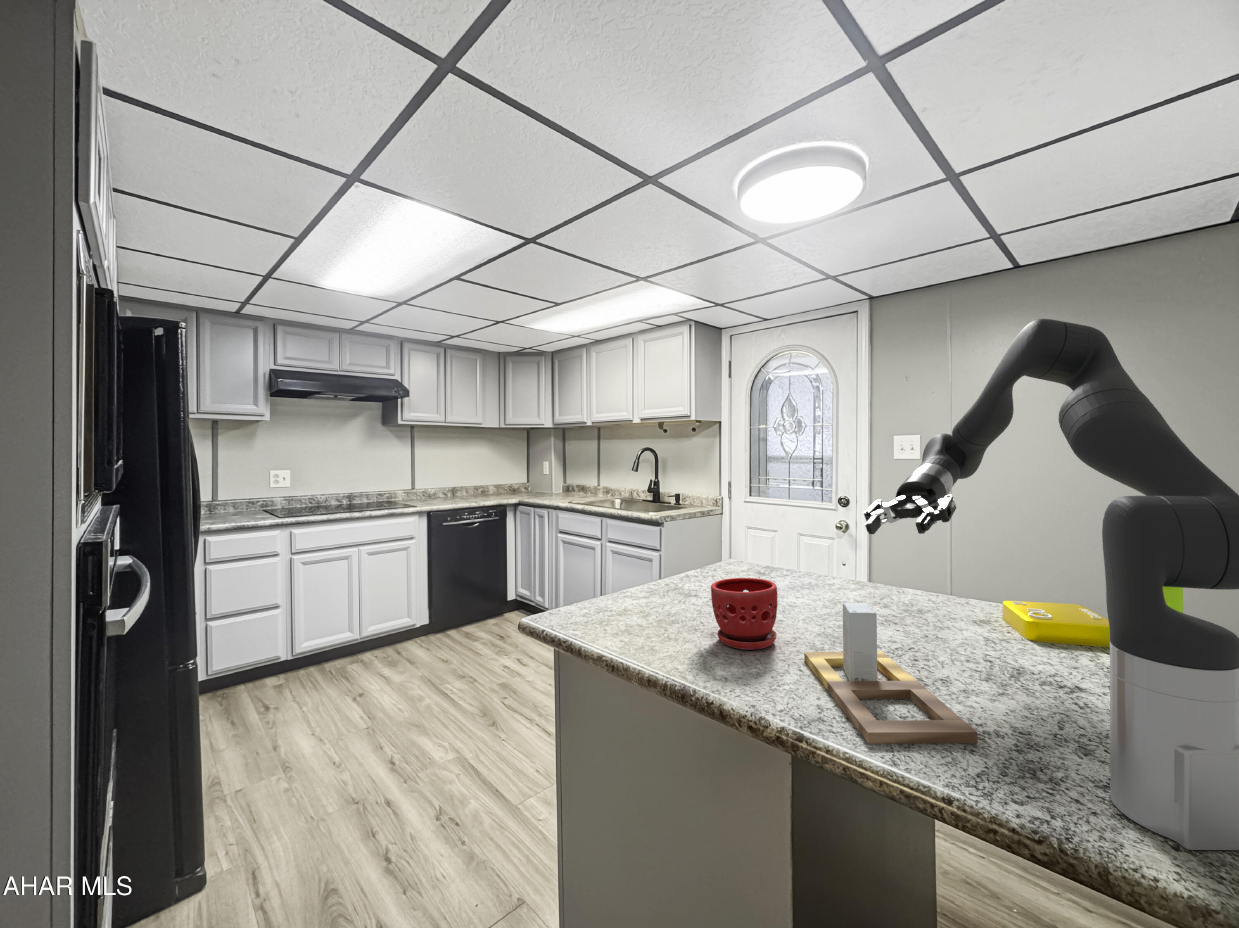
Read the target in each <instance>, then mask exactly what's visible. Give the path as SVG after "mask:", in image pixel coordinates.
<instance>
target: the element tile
mask: <svg viewBox="0 0 1239 928" xmlns="http://www.w3.org/2000/svg"><path fill="white" fill-rule="evenodd" d="M1002 620H1003V621H1004V623H1006V624H1007V625H1008V626H1010V628H1012V629H1013V630H1015V631H1016V632H1017V633H1018V634H1019V635H1020V636H1021V637H1022V638H1024V639H1026V640H1029V641H1033V642H1039V643H1049V644H1052V643H1053V644H1063V645H1075V646H1076V645H1077V646H1089V647H1090V646H1091V647H1101V648H1102V647H1103V648H1110V628H1109V620H1108V618H1106V617H1104V616H1102V615H1101V614H1099V613H1097V612H1095V611H1094V610H1092V609H1091V608H1088V607H1087V606H1084V605H1081V604H1078V603H1077V604H1076V603H1063V602H1061V603H1060V602H1059V603H1058V602H1040V601H1026V600H1004V601H1002Z"/></svg>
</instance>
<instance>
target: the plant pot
mask: <svg viewBox="0 0 1239 928" xmlns="http://www.w3.org/2000/svg"><path fill="white" fill-rule="evenodd" d="M710 596H711V597H710V598H711V605H712V611H713V614H714V618H715V621H716V623H717V625H718V627H719V629H718V631H717V638H718V639H719V641H721V642H722V643H723V644H724V645H726V646H728V647H729V648H733V649H734V648H735V649H739V650H749V651H751V650H752V651H753V650H761V649H765V648H767V647H770V646H771V645H772V644H774V643H775V641H776V640H777V635H778V634H777V632H776V631H775V630H774V629H773V628H774V626H775V623H776V621H777V620H776V619H777V614H778V613H777V612H778V586H777V584H776V583H775V582H774V581H772V580H768V579H762V578H755V577H754V578H753V577H733V578H732V577H731V578H724V579H721V580H717V581H715V582H713V583H711V586H710Z"/></svg>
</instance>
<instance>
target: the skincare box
mask: <svg viewBox="0 0 1239 928" xmlns="http://www.w3.org/2000/svg"><path fill="white" fill-rule="evenodd" d="M877 616H878V615H877V613H876V612H875V610H874V609H873V608H872V607H871V606H870V605H869V604H868V603H867V602H847V601H846V602H842V644H843V645H842V646H843V648H842V650H843V651H842V652H843V671H844V673H845V675H846V677H847V678H848V681H879V680H878V668H877V651H878V635H877V634H878V632H877V631H878V629H877V628H878V624H877V623H878V621H877Z"/></svg>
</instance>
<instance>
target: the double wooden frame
mask: <svg viewBox="0 0 1239 928" xmlns="http://www.w3.org/2000/svg"><path fill="white" fill-rule="evenodd" d="M803 653H804V654H803V656H804V657H803V659H804V660H803V661H804V662H805V663H806V664H807V666H808V667H809V668H810V669H811V671H812V673H814V675H815V676H816V678H817V679H818V680H819V681H820V683H821V684H822V685H823V686H824V688H825V689H826V690H827V692H828V693H829V694H830V696H831V697H832V698H833V700H834V701H835V703H837V705H838V706H839V708H840V709H841V710H842V711H843V713H844V714H845V716H846V717H847V719H848V720H849V721H851V723H852V725H853V726H854V727H855V728H856V730H857V731H858V732H859V734H860V735H861V736H862V737H863V739H864V740H865V742H866V743H867V744H868V745H870V744H871V745H872V744H874V745H876V744H878V745H879V744H880V745H881V744H882V745H886V744H888V745H889V744H892V745H893V744H894V745H895V744H903V745H904V744H911V745H912V744H913V745H914V744H921V745H923V744H926V745H927V744H929V745H930V744H979V742H978V741H979V740H978V736H979V734H978V731H977V729H975V728H973V727H972V726H971V725H970V724H969V723H967V722H966V721H965V720H964V719H962V717H960V716H959V715H958V714H957V713H956V712H955V711H953V710H952V709H951V708H950V707H949V706H947V705H946V704H945V703H944V702H943V701H942V700H940V699H939V698H938V697H937V696H936V695H935V694H933V693H932V692H931V691H930V690H929V689H928V688H926V687H925V686H923V685H922V684H921V682H920V681H918V680H917V679H916V678H914V677H913V676H912V675H911V674H909V672H908V671H907V670H905V669H904V668H903V667H901V666H900V665H899V664H898V663H897V662H896V661H894V660H893V659H892V658H890V656H888V655H887V654H886V653H885V652H883V651H881V650H877V670H879V672H881V673H882V674H883V675H884V676H885V677H886V678H888V679H889V680H878V681H849V680H847V681H846V680H843V679H842V678H841V677H840V675H839V674H838V673H837V672H836V671H835V670H834V669H833V668H838V667H839V668H840V667H841V668H842V667H843V651H804V652H803ZM861 700H911V701H912V702H913V703H914V704H915V705H916V706H917V707H919V708H920V709H921V710H922V711H923V712H924V713H925V714H926V715H927V716H928V717H929V718H930V719H923V720H922V719H916V720H915V719H914V720H913V719H912V720H909V719H908V720H905V719H904V720H903V719H900V720H898V719H897V720H894V719H893V720H891V719H886V720H880V719H879V720H878V719H876V717H875V716H874V715H873V714H872V713H871V712H870V710H869V709H868V708H867V707H866V706H865V705H864V703H863V702H862V701H861Z"/></svg>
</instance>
